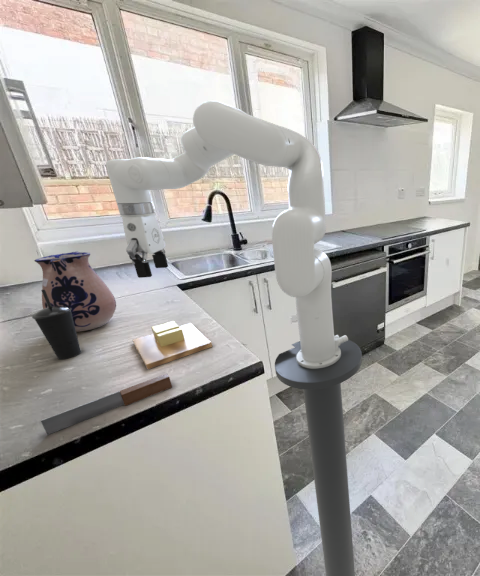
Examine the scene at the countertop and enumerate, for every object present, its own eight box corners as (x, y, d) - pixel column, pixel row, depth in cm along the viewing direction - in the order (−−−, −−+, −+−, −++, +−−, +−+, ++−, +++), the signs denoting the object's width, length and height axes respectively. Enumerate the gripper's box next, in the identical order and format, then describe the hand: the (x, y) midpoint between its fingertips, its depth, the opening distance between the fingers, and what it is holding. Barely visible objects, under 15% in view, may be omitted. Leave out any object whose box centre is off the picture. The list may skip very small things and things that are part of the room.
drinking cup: (47, 365, 84) (16, 297, 77) (55, 353, 90) (27, 288, 83) (84, 356, 88) (58, 290, 81) (89, 345, 94) (66, 283, 87)
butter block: (176, 330, 99) (173, 320, 98) (181, 336, 95) (179, 326, 94) (154, 337, 95) (151, 326, 94) (158, 343, 91) (155, 332, 90)
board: (191, 326, 105) (190, 322, 105) (212, 346, 92) (211, 342, 92) (133, 343, 94) (132, 339, 94) (147, 369, 81) (146, 364, 81)
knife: (170, 383, 75) (166, 371, 74) (172, 387, 74) (168, 374, 73) (47, 431, 61) (40, 417, 60) (47, 437, 60) (40, 423, 59)
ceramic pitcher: (47, 344, 95) (13, 265, 87) (62, 320, 111) (35, 253, 103) (119, 328, 105) (95, 256, 96) (123, 309, 121) (103, 246, 113)
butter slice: (182, 337, 95) (180, 327, 94) (184, 339, 93) (182, 329, 92) (159, 344, 91) (156, 334, 89) (161, 347, 89) (158, 336, 88)
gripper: (135, 212, 74) (154, 280, 80) (167, 207, 90) (181, 263, 96) (99, 213, 73) (121, 282, 78) (138, 207, 89) (154, 265, 94)
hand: (154, 272), depth 87 cm, fingers open, 9 cm apart
